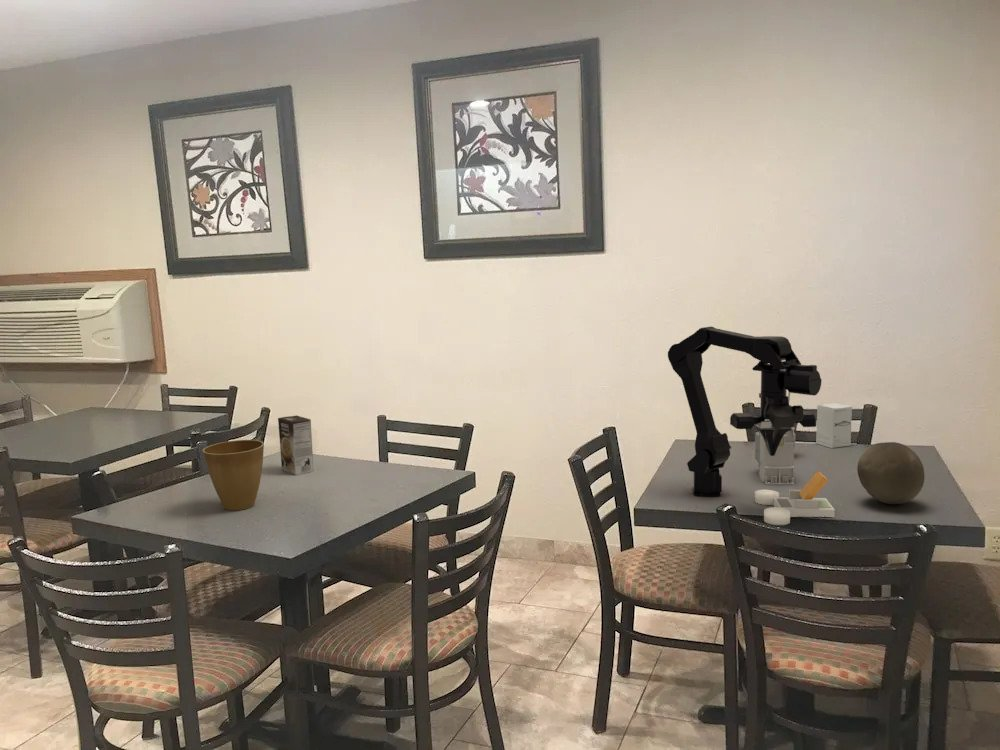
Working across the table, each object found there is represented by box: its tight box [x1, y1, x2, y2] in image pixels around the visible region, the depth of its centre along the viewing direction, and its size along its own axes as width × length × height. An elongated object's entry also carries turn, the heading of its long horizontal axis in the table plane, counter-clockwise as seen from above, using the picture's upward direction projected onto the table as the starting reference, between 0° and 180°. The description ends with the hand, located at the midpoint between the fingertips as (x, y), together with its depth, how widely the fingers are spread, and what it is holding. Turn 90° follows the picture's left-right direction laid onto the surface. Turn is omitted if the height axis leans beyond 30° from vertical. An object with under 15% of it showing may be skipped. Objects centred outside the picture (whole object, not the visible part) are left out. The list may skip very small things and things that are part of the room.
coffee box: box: [277, 414, 315, 476], centre depth 241 cm, size 9×6×16 cm
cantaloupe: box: [856, 441, 926, 505], centre depth 192 cm, size 14×14×15 cm
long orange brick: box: [799, 470, 829, 500], centre depth 188 cm, size 2×5×8 cm
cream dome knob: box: [754, 489, 780, 506], centre depth 197 cm, size 6×6×2 cm
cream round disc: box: [763, 506, 791, 526], centre depth 183 cm, size 6×6×2 cm
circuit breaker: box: [754, 427, 796, 485], centre depth 218 cm, size 8×14×15 cm, turn 174°
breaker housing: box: [772, 489, 836, 518], centre depth 189 cm, size 12×9×4 cm
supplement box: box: [815, 402, 853, 449], centre depth 251 cm, size 7×7×13 cm
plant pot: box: [202, 439, 265, 512], centre depth 207 cm, size 15×15×16 cm
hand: (771, 455), depth 191 cm, fingers closed
